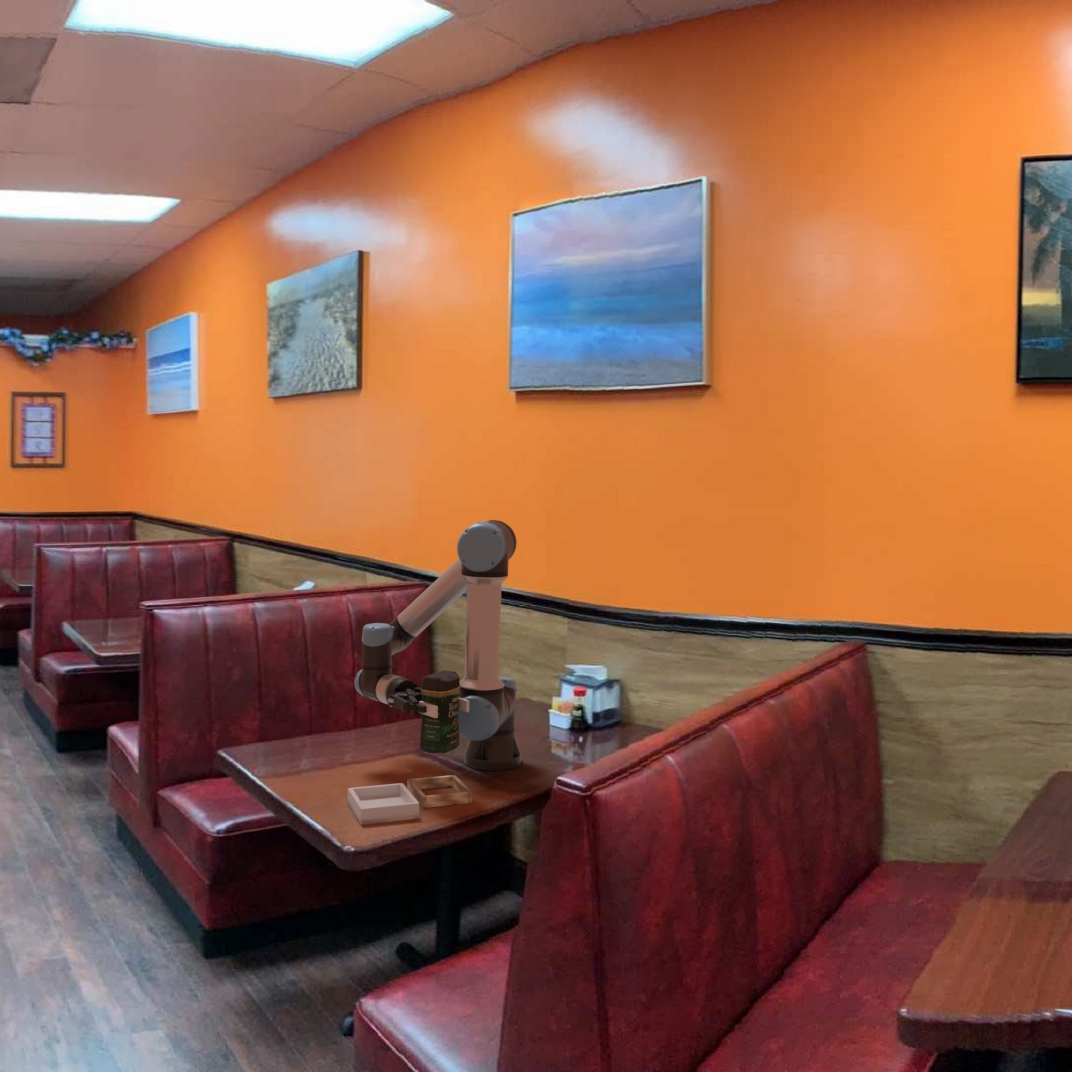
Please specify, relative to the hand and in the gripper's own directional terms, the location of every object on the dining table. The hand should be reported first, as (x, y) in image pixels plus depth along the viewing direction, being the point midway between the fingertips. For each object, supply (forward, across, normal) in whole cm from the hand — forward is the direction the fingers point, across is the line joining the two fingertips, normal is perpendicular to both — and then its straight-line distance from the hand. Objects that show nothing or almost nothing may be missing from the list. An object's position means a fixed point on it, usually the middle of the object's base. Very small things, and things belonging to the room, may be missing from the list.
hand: (452, 709), depth 236 cm
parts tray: (-4, +16, -22) cm, 27 cm away
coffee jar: (-5, 0, -11) cm, 12 cm away
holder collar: (-5, 0, -22) cm, 22 cm away
